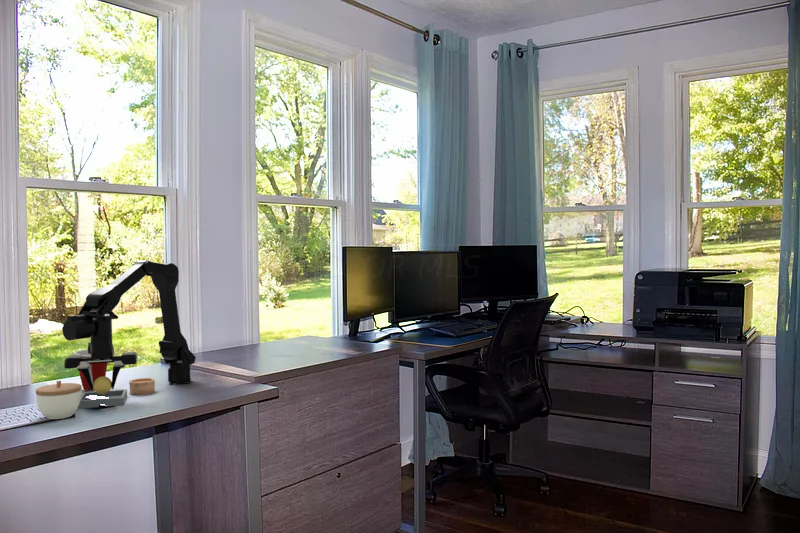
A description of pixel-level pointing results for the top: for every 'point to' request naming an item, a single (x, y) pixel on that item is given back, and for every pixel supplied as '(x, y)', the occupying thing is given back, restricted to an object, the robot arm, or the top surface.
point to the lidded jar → (58, 399)
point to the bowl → (142, 386)
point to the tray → (114, 399)
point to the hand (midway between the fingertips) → (102, 389)
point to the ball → (102, 385)
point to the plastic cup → (97, 369)
